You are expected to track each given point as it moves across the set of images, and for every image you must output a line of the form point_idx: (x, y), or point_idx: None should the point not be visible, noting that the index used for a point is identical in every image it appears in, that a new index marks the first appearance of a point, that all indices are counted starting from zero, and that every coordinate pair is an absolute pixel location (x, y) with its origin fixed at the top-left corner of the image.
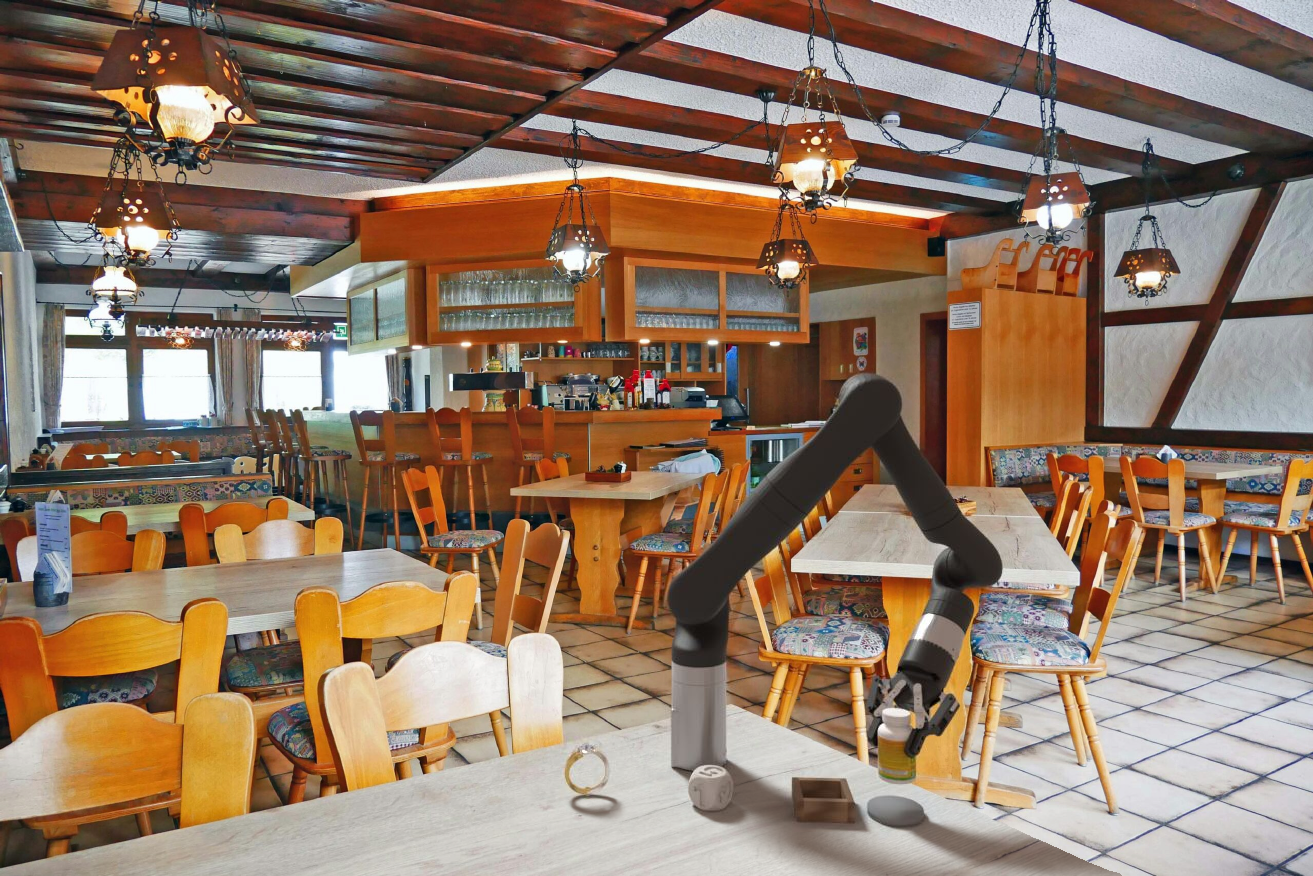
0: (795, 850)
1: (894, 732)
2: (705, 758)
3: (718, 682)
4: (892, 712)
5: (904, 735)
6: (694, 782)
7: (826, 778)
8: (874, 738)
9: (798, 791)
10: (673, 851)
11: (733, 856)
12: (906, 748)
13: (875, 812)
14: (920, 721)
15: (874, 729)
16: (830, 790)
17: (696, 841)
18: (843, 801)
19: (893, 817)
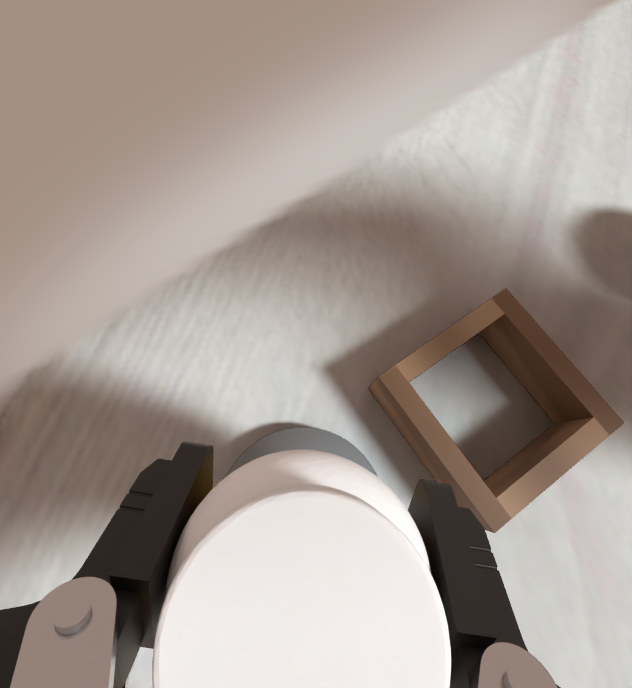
0: (405, 199)
1: (272, 473)
2: None
3: None
4: (335, 609)
5: (208, 499)
6: None
7: (541, 487)
8: (420, 510)
9: (541, 341)
10: (571, 83)
11: (481, 122)
12: (194, 449)
13: (335, 440)
14: (53, 650)
15: (446, 537)
16: (504, 477)
17: (571, 128)
18: (405, 359)
19: (280, 441)
